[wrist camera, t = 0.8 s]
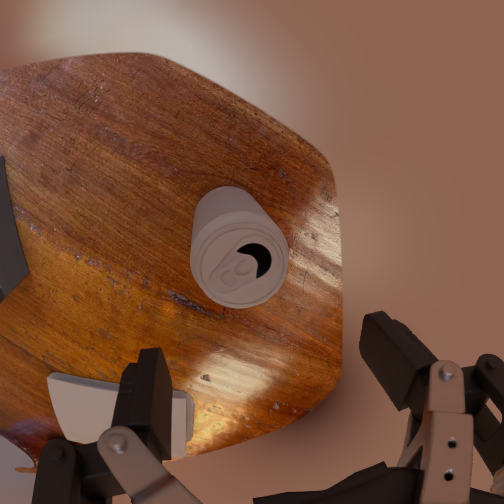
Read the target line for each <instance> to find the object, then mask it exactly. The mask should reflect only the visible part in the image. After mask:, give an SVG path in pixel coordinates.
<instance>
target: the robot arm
mask: <svg viewBox="0 0 504 504" xmlns="http://www.w3.org/2000/svg"><path fill="white" fill-rule="evenodd" d="M359 350H360V354H361V356H362V358H363V359H364V361H365V362H366V364H367V365H368V367H369V368H370V370H371V371H372V373H373V374H374V375H375V377H376V378H377V380H378V381H379V383H380V384H381V386H382V387H383V389H384V390H385V392H386V393H387V394H388V396H389V397H390V399H391V401H392V402H393V404H394V405H395V407H396V408H397V410H398V411H401V410H403V409H406V408H408V407H409V408H410V410H411V412H410V414H409V419H408V425H407V431H406V436H405V441H404V446H403V451H402V454H401V457H400V459H399V461H398V464H397V466H396V467H389V468H387V466H386V464H385V462H384V461H383V462H381V463H379V464H376V465H374V466H371V467H369V468H366V469H363V470H361V471H358V472H355V473H354V474H352V475H350V476H349V477H347V478H346V479H344V480H342V481H341V482H339V483H337V484H335V485H334V486H332V487H330V488H328V489H326V490H323V491H305V492H285V493H280V494H275V495H270V496H264V497H258V498H253V503H254V504H504V362H503V361H502V360H501V359H500V358H499V357H497V356H495V355H493V354H483V355H481V356H480V357H479V358H478V360H477V363H476V365H475V366H469V367H463V368H460V367H459V366H458V365H457V364H456V363H454V362H452V361H447V360H440V361H439V360H438V359H437V358H436V357H435V356H434V355H433V354H432V353H431V352H430V350H429V349H428V348H427V347H426V346H425V345H424V344H423V343H422V342H421V341H420V340H418V338H417V337H416V336H415V335H414V334H412V331H410V329H409V328H408V327H407V326H406V325H404V324H403V323H401V322H399V321H397V320H395V319H394V320H392V319H391V318H390V317H389V316H388V315H387V314H386V313H385V312H384V311H378V312H374V313H370V314H366V315H365V316H364V319H363V324H362V330H361V336H360V342H359ZM172 397H173V386H172V379H171V376H170V373H169V370H168V367H167V364H166V361H165V358H164V355H163V352H162V349H161V348H147V349H141V350H140V354H139V359H138V363H129V365H128V366H127V367H126V369H125V370H124V371H123V373H122V377H121V381H120V385H119V390H118V394H117V399H116V404H115V408H114V413H113V418H112V423H111V427H110V428H109V429H107V430H105V431H104V432H103V433H102V434H101V435H100V437H99V438H98V441H96V442H93V443H89V444H84V445H79V446H73V445H72V444H71V443H70V442H69V441H68V440H65V439H62V438H57V439H53V440H50V441H49V442H47V443H46V444H45V445H44V447H43V448H42V451H41V454H40V459H39V464H38V468H37V473H36V479H35V484H34V491H33V497H32V504H112V496H116V495H120V494H125V493H127V494H128V495H129V497H130V498H131V502H132V504H203V503H202V502H201V501H200V500H198V499H197V498H196V497H195V496H194V495H193V494H192V493H191V492H190V491H189V490H188V489H187V488H186V487H185V486H184V485H183V484H182V483H181V482H180V481H179V480H178V479H177V478H176V477H174V476H173V475H171V474H170V473H169V472H168V471H167V470H166V469H165V468H164V466H163V465H162V460H171V433H172ZM489 398H490V399H491V400H492V401H493V403H494V404H495V405H496V407H497V408H498V409H499V410H500V412H501V413H502V422H501V424H500V423H499V421H498V420H497V419H496V417H495V416H494V415H493V413H492V412H491V411H490V409H489V408H488V407H487V405H486V402H487V401H488V399H489ZM473 445H474V446H475V448H476V449H477V451H478V452H479V454H480V456H481V457H482V459H483V461H484V462H485V464H486V465H487V467H488V469H489V470H490V472H491V474H492V475H493V477H494V479H493V484H492V486H491V488H490V492H491V493H489V492H485V491H482V490H477V489H474V488H471V487H470V486H471V476H472V461H473Z"/></svg>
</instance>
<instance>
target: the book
mask: <svg viewBox="0 0 504 504" xmlns="http://www.w3.org/2000/svg"><path fill="white" fill-rule="evenodd" d="M47 382H48V387H49V393H50V397H51V401H52V404H53V408H54V411H55V414H56V416H57V419H58V422H59V424H60V426H61V429H62V431H63V433H64V435H65V437H66V439H67V440H70V441H74V442H78V443H83V444H89V443H93V442H96V441H98V438H99V437H100V435H101V434H102V433H103V432H104V431H105V430H107V429H109V428H110V427H111V423H112V418H113V413H114V408H115V404H116V399H117V394H118V390H119V385H120V384H118V383H111V382H105V381H99V380H93V379H88V378H83V377H78V376H73V375H68V374H64V373H59V372H55V373H51V374H50V375H49V377H47ZM194 406H195V404H194V401H193V398H192V397H191V396H190V395H188V394H187V393H186V392H182V391H178V390H173V397H172V433H171V457H183V458H186V442H188V441H190V440H191V439H192V437H193V425H194Z"/></svg>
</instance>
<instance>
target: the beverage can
mask: <svg viewBox="0 0 504 504" xmlns="http://www.w3.org/2000/svg"><path fill="white" fill-rule="evenodd" d="M288 259H289V251H288V245H287V241H286V239H285V237H284V235H283V233H282V231H281V230H280V229H279V227H278V226H277V225H276V224H275V223H274V221H273V220H272V219H271V218H270V217H269V216H268V214H267V213H266V212H265V211H264V210H263V209H262V207H261V206H260V205H259V204H258V203H257V201H256V200H255V199H254V198H253V197H252V196H251V195H250V194H249V193H248V192H246V191H244V190H242V189H240V188H237V187H232V186H224V187H219V188H216V189H213V190H211V191H210V192H208V193H207V194H206V195H205V196H203V198H202V199H201V200H200V201H199V203H198V205H197V207H196V209H195V213H194V220H193V230H192V241H191V253H190V265H191V270H192V274H193V276H194V278H195V280H196V282H197V283H198V285H199V286H200V287H201V288H202V290H203V291H204V293H205V294H206V295H207V296H208V297H209V298H210V299H212V300H213V301H215V302H216V303H218V304H221V305H223V306H226V307H230V308H248V307H253V306H256V305H259V304H261V303H263V302H265V301H267V300H268V299H270V298H271V297H272V296H273V295H274V294H275V293H276V292H277V291H278V290H279V289H280V287H281V286H282V284H283V283H284V281H285V278H286V276H287V272H288Z"/></svg>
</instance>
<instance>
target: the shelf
mask: <svg viewBox="0 0 504 504" xmlns="http://www.w3.org/2000/svg"><path fill="white" fill-rule="evenodd" d="M28 274H29V270H28V267H27V264H26V260H25V257H24V254H23V251H22V247H21V244H20V240H19V236H18V232H17V228H16V224H15V220H14V216H13V211H12V207H11V202H10V197H9V191H8V185H7V179H6V172H5V165H4V157H3V156H0V303H1V302H2V301H3V300H4V299H5V298H6V297H7V295H8V294H9V293H10V292H11V291H12V290H13V289H14V288H15V287H16V286H17V285H18V284H19V283H20V282H21V281H22V280H23V279H24V278H25V277H26V276H27V275H28Z"/></svg>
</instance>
